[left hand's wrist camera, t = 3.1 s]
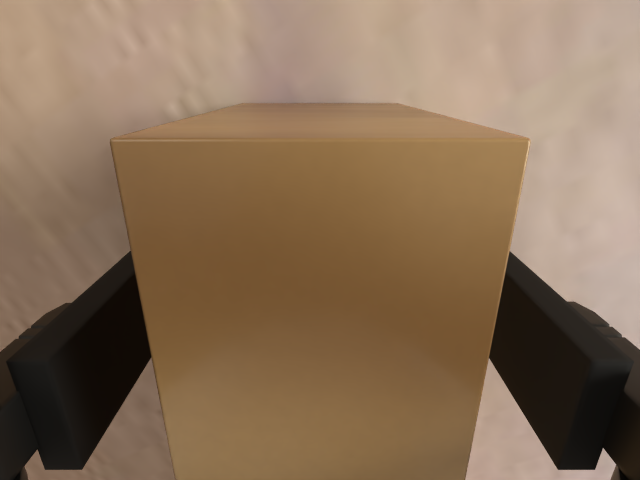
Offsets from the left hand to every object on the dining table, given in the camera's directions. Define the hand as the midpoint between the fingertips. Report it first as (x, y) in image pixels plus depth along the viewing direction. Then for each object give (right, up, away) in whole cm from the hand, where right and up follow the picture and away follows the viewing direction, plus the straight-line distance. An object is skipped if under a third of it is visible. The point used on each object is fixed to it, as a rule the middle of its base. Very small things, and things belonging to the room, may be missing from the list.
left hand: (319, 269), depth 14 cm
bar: (0, -20, +10) cm, 22 cm away
